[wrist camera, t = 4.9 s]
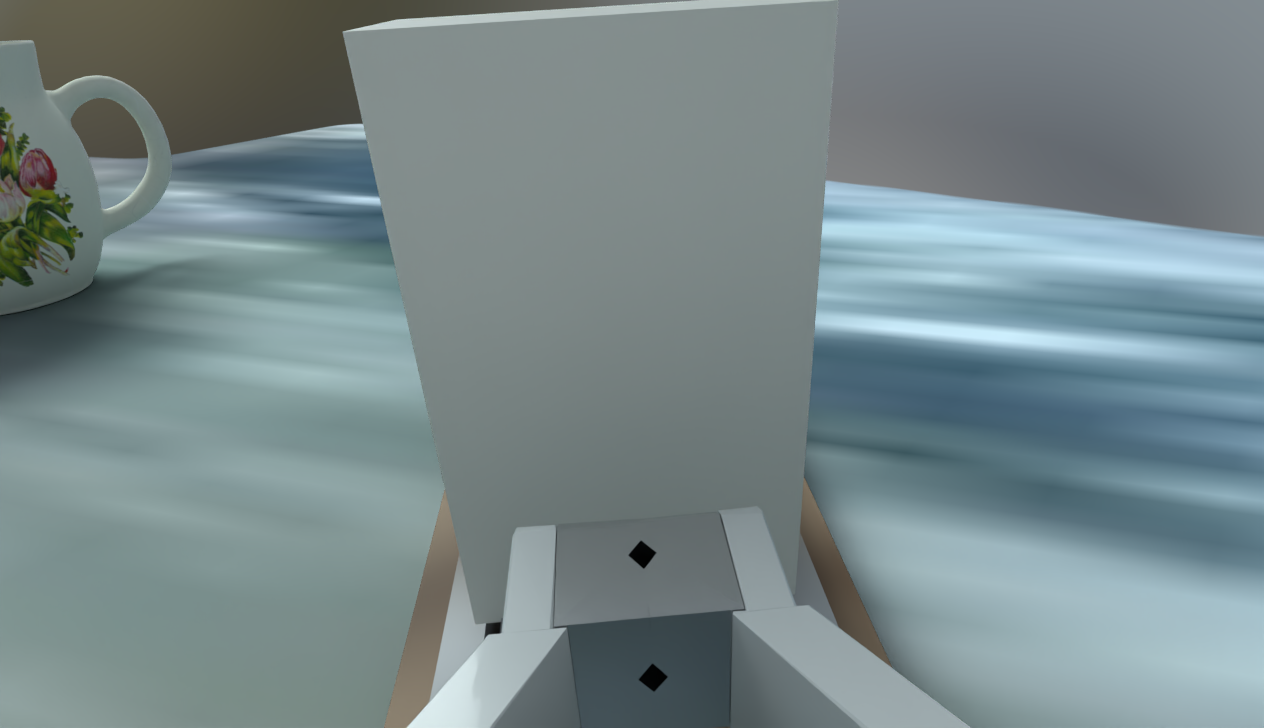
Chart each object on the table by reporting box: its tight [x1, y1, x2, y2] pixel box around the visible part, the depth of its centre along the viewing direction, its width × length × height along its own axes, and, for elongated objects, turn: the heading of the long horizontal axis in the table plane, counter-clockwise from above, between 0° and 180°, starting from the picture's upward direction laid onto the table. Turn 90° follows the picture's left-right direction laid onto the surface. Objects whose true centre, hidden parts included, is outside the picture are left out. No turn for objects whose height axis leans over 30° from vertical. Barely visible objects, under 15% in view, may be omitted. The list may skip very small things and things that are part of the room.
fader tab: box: [343, 0, 839, 633], centre depth 13 cm, size 4×6×12 cm, turn 94°
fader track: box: [384, 478, 892, 728], centre depth 22 cm, size 25×10×4 cm, turn 4°
